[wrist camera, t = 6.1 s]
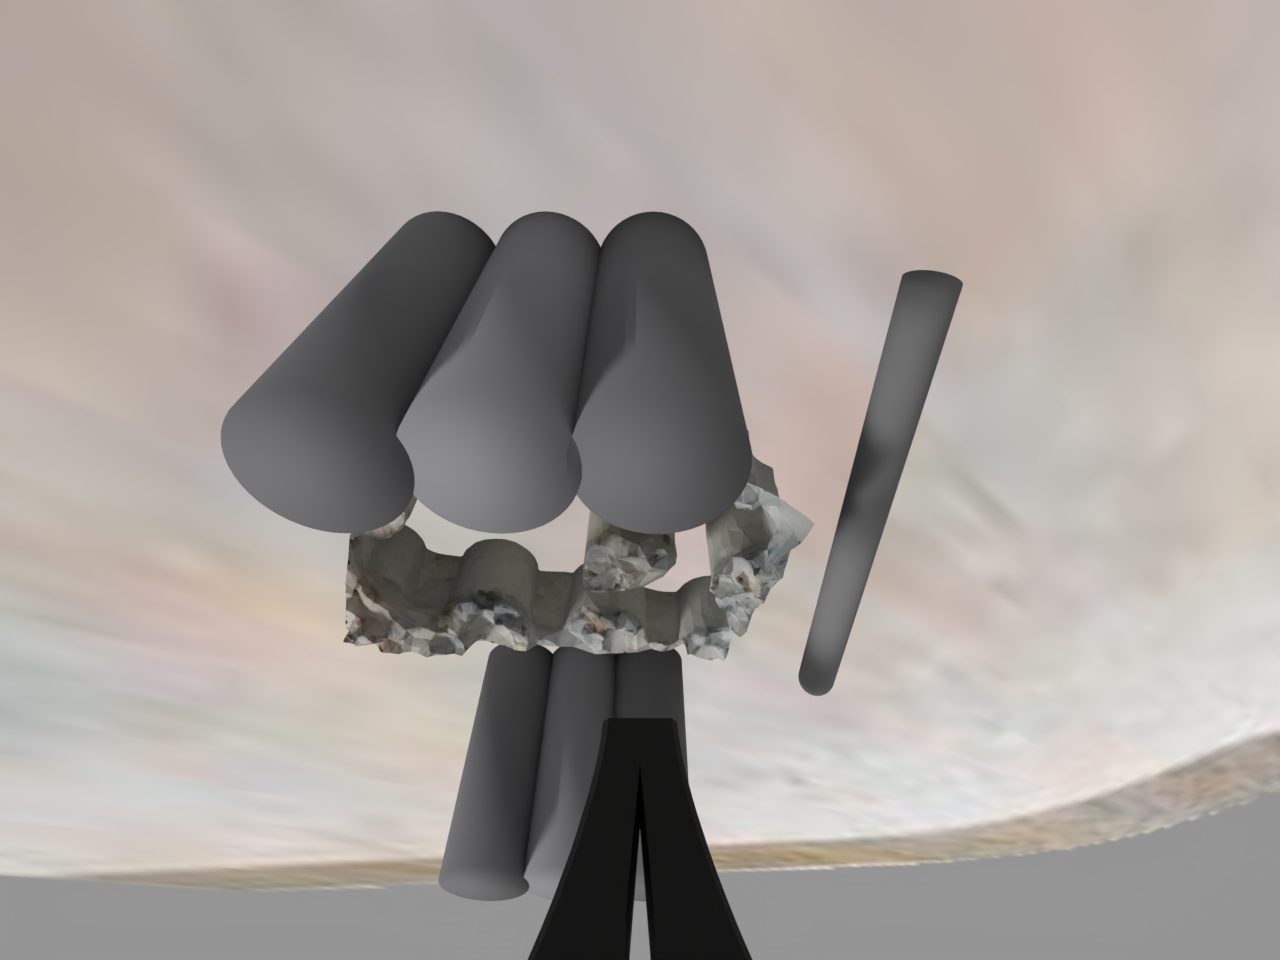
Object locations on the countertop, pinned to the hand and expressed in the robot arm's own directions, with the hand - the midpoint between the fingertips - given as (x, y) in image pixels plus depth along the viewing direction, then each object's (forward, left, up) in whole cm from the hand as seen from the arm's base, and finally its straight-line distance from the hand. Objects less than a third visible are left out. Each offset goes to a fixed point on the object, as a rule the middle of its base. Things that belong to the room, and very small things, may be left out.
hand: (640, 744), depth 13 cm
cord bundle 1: (+7, -2, -7) cm, 10 cm away
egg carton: (-1, -2, -7) cm, 8 cm away
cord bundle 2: (-7, -2, -7) cm, 10 cm away
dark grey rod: (0, +6, -7) cm, 9 cm away
